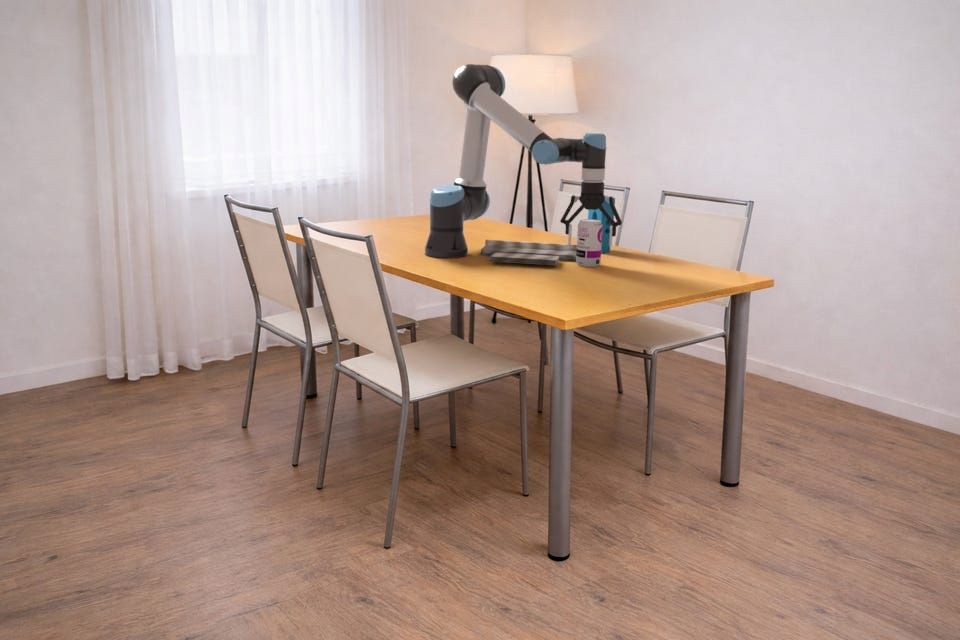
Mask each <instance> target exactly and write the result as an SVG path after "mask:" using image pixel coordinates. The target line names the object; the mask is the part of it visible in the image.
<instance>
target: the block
mask: <svg viewBox="0 0 960 640" xmlns="http://www.w3.org/2000/svg"><path fill="white" fill-rule="evenodd" d="M604 197H610V196H609V195H605V194H604ZM613 203H614V205H616V198H615V197H613ZM602 205H603V207H604V208H605V210H606V211H607V212H608V213H609V215H610V216H611V217H612V219H613V220H614V221H615V216H614V214H613V211H612V209H611V207H610V204H608V203H607V201H604V202H603V204H602ZM587 211H588V213H587V219H594V220H600V221H601V223H602V225H603V230H602V247H601V254H608V253H610V250H611V247H609V240H610V226H612V225H611V223H610V222H609V221H608V220H607V218H606V217H605V216H604V214H603V213H602V212H601V211H600V210H599V209H597V210H592V209H590V210H587ZM613 237H614V236H612V238H613Z"/></svg>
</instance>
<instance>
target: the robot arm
mask: <svg viewBox="0 0 960 640" xmlns="http://www.w3.org/2000/svg"><path fill="white" fill-rule="evenodd" d="M452 88H453V90H454V92H455V95H456V96H457V97H458V98H459V99H460V100H461V101H463V105H464V106H465V107H466V109H467V110H466V117H465V124H464V125H465V126H464V133H463V134H464V135H463V143H462V149H461V150H462V151H461V159H460V166H459V175H458V177H457V178H455V179H454V182H453V185H452V184H451V185H450V184H447V185H440V186H438V187H437V186H436V187H435V188H433V189H432V190H431V191H430V197H429V205H430V206H429V211H430V212H429V234H428V237H427V239H426V244H425V247H424V255H426V256H429V257H432V258H433V257H434V258H441V259H442V258H446V259H448V258H452V259H453V258H463V257H466V256H468V254H469V253H468V252H469V248H468V244H467V241H466V238H465V234H464V222H466V221H473V220H476V219H479V218H480V217H482V216H484V215H485V214H486V213H487V212H488V209H489V207H490V200H491V199H490V195H489V193H488V191H487V183H486V182H485V181H484V173H485V167H486V158H487V150H488V142H489V137H490V128H491V121H492V122H493V123H495V124H496V125H497V126H498V127H499V128H501V129H502V130H503V131H504V132H505V133H507V134H508V135H509V136H510V137H512V138H513V139H515V141H517V142H518V143H519V144H520V145H522V147H524V148H525V149H526V150H528V151H529V152H530V153H531V155H532V158H533V160H534V161H535V163H538V164H540V165H545V166H547V165H552V164H558V163H559V164H560V163H567V162H569V163H581V180H582V182H581V183H580V185H581V186H580V196H577V195H575V194H572V196H571V197H570V203H569V204H568V206H567V208H566V209H565V211H564V213H563V215H562V217H561V219H560V223H561V224H564V226H565V230H564V231H565V235H568V238H567V239H568V241H567V242H568V243H567V244H568V245H571V244H572V236H573V234H572V231H573V224H571V223H572V222H573V221H574V220H575V218H576V217H577V216H578V215H579V214H581V212H582V211H583V210H584V209H585V210H587V211H588V210H590V209H592V210H597V209H599V210H600V211H601V212H602V213H603V214H604V216H605V217H606V218H607V220H608V221H609V222H610V223H611V225H612V226H610V240H609V247H610V248H612V246H613V237H616V234H617V227H618V226H622V224H623V223H622V219H621V217H620V214H619V212H618V211H617V208H616V206H615V205H616V204H615V205H614V203H613V198H614V196H612V195H610V196H609V197H604V195H605V183H604V181H605V178H606V177H605V176H606V175H605V173H606V157H607V155H606V154H607V136H606V135H605V134H604V133H600V132H599V133H595V132H587V133H584V134H583V136H582V138H564V137H557V138H556V137H554V138H552V137H550V135H548V134H547V133H545V131H543V130H542V129H540V127H538V126H537V125H536V124H535V123H533V122H532V121H531V120H530V119H528V118H527V117H526V116H525V115H523V114H522V113H521V112H520V111H518V109H516V108H515V107H514V106H512V105H511V104H510V103H508V102H507V101H506V100H505V99H504V98H502V96H503V95H504V93H505V91H506V79H505V77H504V75H503V73H502V72H501V70H500V69H498V68H497V67H495V66H492V65H489V64H473V63H467V64H464V65H462V66H460V67H458V68H457V70H456V71H455V72H454V75H453V77H452ZM578 201H579V203H580V204H581V205H580V206H579V207H578V208H577V209H576V211H574V212H573V214H572V215H571V216H570V217H569V218H568V219H567V217H568V216H569V214H570V212H571V210H572V208H573V206H574V204H575V203H577V202H578ZM604 201H607V203H608V204H610V207H611V209H612V211H613V214H614V220H613V219H612V217H611V216H610V215H609V213H608V212H607V211H606V210H605V208H604V207H603V205H602V204H603V202H604ZM615 220H616V221H615ZM612 236H613V237H612Z"/></svg>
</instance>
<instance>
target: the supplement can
mask: <svg viewBox="0 0 960 640" xmlns="http://www.w3.org/2000/svg"><path fill="white" fill-rule="evenodd" d="M602 230H603V225H602V223H601V221H600V220H594V219H588V218H586V219H584V218H583V219H580V220H579V222H578V224H577V234H576V235H577V237H576V245H577V251H576V262H575V263H576V264H577V265H578V266H579V267H585V268H596V267H598V266H600V264H601V261H602V258H601V257H602V253H601V247H602Z"/></svg>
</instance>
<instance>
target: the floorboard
mask: <svg viewBox="0 0 960 640" xmlns="http://www.w3.org/2000/svg"><path fill="white" fill-rule="evenodd" d="M484 241H485V242H484V243H485V244H484V246H483V247H482V248H481V249H480V253H479V256H480V257H489V258H490V256H491V255H493V254H494V253H513V254H530V255H547V256H559V262H572V263H573V262H575V263H576V251H577V244H572V243H571V245H568V243H553V242H535V241H518V240H516V241H515V240H501V239H485V240H484Z"/></svg>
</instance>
